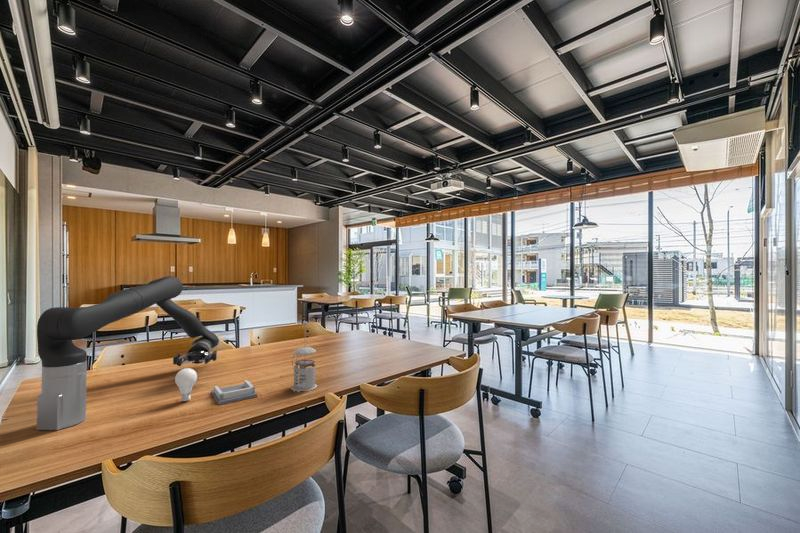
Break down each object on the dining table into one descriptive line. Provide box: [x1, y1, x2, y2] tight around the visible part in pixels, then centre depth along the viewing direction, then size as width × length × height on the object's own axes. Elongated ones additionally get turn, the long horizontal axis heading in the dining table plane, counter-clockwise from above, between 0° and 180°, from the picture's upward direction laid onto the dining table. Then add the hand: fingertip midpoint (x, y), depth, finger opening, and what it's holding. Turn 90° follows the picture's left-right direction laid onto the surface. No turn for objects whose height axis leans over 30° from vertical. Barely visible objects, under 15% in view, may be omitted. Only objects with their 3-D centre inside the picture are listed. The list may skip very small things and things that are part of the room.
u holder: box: [210, 379, 258, 406], centre depth 121 cm, size 14×12×3 cm
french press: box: [290, 320, 318, 393], centre depth 129 cm, size 10×12×25 cm
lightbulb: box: [174, 367, 198, 403], centre depth 115 cm, size 6×6×11 cm
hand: (192, 362), depth 125 cm, fingers open, 8 cm apart
